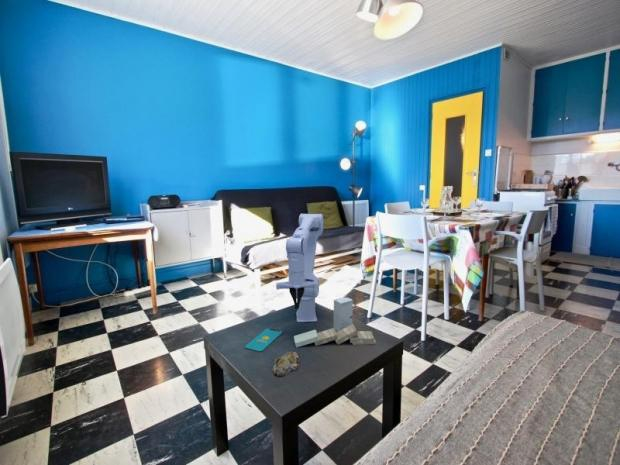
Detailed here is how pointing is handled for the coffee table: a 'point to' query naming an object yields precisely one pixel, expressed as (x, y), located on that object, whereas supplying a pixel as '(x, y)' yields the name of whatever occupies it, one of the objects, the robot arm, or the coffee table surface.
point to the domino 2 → (326, 336)
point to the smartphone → (263, 340)
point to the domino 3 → (346, 334)
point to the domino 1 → (306, 338)
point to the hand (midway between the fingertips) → (296, 307)
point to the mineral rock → (286, 364)
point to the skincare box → (343, 313)
